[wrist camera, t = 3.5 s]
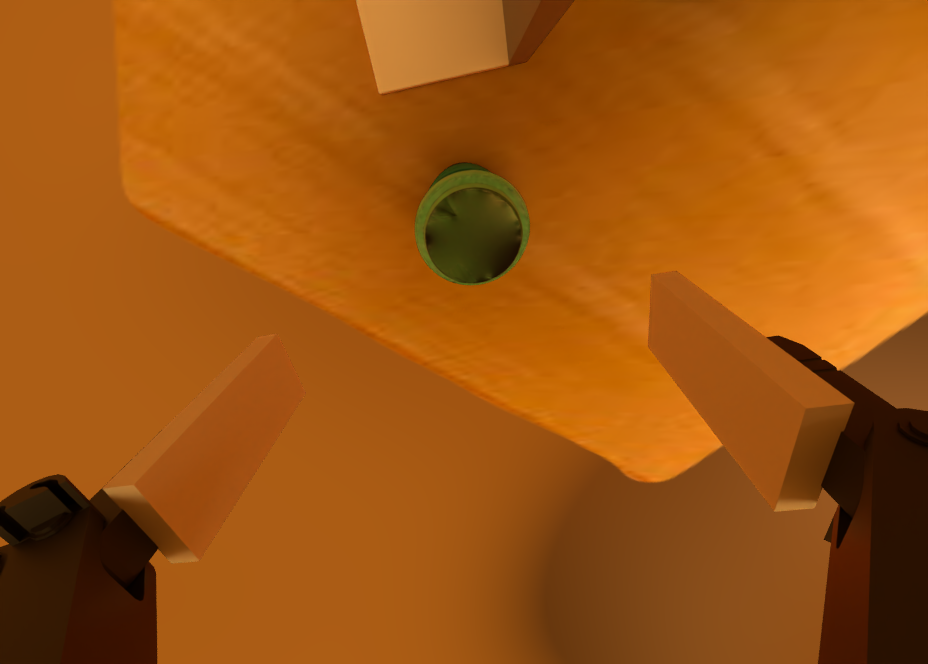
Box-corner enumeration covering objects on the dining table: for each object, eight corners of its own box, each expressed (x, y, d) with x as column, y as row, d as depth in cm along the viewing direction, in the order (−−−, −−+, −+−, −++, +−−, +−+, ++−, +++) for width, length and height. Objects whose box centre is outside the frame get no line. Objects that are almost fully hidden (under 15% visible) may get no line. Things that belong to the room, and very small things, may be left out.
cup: (481, 135, 33) (482, 141, 22) (534, 211, 36) (557, 248, 25) (412, 196, 36) (385, 227, 25) (467, 262, 38) (462, 315, 28)
